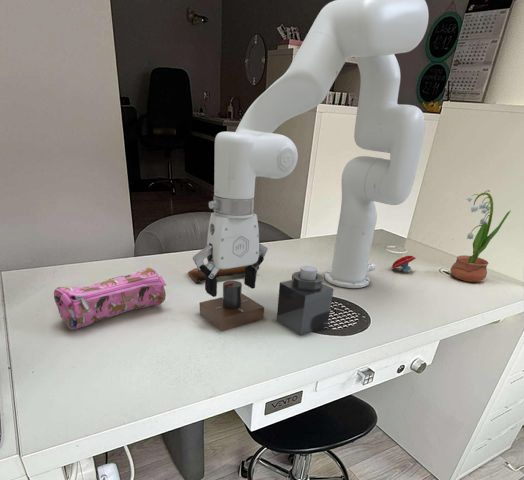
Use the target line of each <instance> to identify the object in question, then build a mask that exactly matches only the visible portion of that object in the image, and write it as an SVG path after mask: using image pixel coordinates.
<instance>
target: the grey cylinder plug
mask: <svg viewBox="0 0 524 480" xmlns="http://www.w3.org/2000/svg"><path fill="white" fill-rule="evenodd" d="M299 271H300V277H299V278H301V279H305V280H315V279H316V275H317V273H318V268H317V267H316V266H313V265H302V266H300V269H299Z"/></svg>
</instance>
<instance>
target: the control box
mask: <svg viewBox="0 0 524 480" xmlns="http://www.w3.org/2000/svg"><path fill="white" fill-rule="evenodd" d="M199 315H200V317H202V318H203V319H204V320H206V321H207V322H208V323H210V324H211V325H212V326H213V327H215V328H216V329H218V330H219V331H220V332H224V331H228V330H231V329H234V328H238V327H242V326H246V325H248V324H252V323H255V322H259V321H262V320H264V318H265V306H264V305H262V304H260V303H258V302H256V301H255V300H253V299H252V298H251V297H249V296H247V295H245V294H244V293H242V296H241V306H240V307H238V308H227V307H225V306H223V296H222V297H221V296H220V297H218V298H212V299H208V300H204V301H200V302H199Z"/></svg>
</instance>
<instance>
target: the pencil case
mask: <svg viewBox="0 0 524 480" xmlns="http://www.w3.org/2000/svg"><path fill="white" fill-rule="evenodd" d="M121 276H122V277H120V276H116V277H112V278H113V279H112V278H109V279H110V280H109V279H106V280H104V281H101V282H98V283H95V284H92V285H89V286H72V287H65V286H58V287H56V288H55V289H53V290H54V291H53V299H54V303H55V305H56V307H57V309H58V313H59V316H60V318H61V320H63V321H64V323H65V324H66V325H67V328H68V329H69V330H73V331H75V330H78V329H79V328H81V329H82V328H84V327H87V326H89V325H92V324H94V323H98V322H100V321H101V320H104V319H108V318H111V317H114V316H117V315H120V314H123V313H126V312H129V311H131V310H133V311H134V310H137V309H142V308H146V307H152V306H159V305H162V304H163V303H164V302H166V296H167V295H166V289H165V286H167V283H166V281H165V280H164V278H163V277H162V275H160V276H159V274H158V272H157V271H156V269H154V268H152V267H147V268H143V269H141V270H138V271H136V272H135V273H134V274H128V275H121Z"/></svg>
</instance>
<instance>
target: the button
mask: <svg viewBox="0 0 524 480" xmlns="http://www.w3.org/2000/svg"><path fill="white" fill-rule="evenodd" d="M416 259H417V257H415V256H413V255H405V256H402V257H400V258H398V259H396V260H395V261H394V262H393V263H392V266H391V269H396V268H400V267H401V271H402V273H409V271H411V266H410V265H409V263H411V262H413V261H414V260H416Z"/></svg>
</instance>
